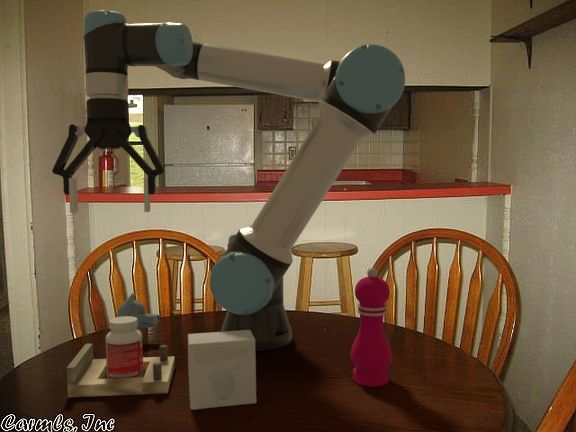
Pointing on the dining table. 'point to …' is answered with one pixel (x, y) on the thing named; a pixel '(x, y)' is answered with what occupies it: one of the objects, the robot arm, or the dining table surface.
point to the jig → (91, 378)
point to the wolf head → (138, 313)
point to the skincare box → (221, 369)
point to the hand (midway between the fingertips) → (111, 212)
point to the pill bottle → (124, 349)
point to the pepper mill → (371, 332)
